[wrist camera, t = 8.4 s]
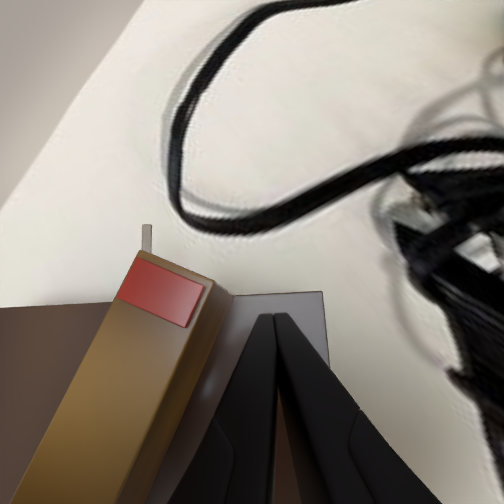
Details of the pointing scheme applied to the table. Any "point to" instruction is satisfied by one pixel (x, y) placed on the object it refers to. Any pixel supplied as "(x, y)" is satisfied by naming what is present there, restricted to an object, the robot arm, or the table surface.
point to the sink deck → (74, 350)
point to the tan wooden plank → (128, 389)
